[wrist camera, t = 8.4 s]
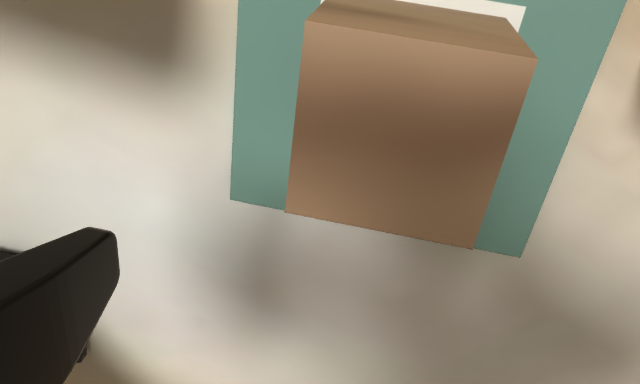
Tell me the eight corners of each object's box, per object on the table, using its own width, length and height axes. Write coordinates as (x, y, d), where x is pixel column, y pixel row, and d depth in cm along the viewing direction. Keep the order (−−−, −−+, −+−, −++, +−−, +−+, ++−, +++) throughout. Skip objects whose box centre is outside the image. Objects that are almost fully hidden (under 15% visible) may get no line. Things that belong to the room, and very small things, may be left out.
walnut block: (459, 170, 19) (472, 249, 14) (314, 143, 19) (284, 212, 15) (505, 17, 16) (538, 59, 12) (334, -10, 16) (304, 20, 12)
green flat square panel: (518, 251, 21) (520, 258, 20) (233, 194, 21) (229, 200, 21) (655, -82, 14) (661, -82, 14) (248, -141, 15) (243, -142, 15)
